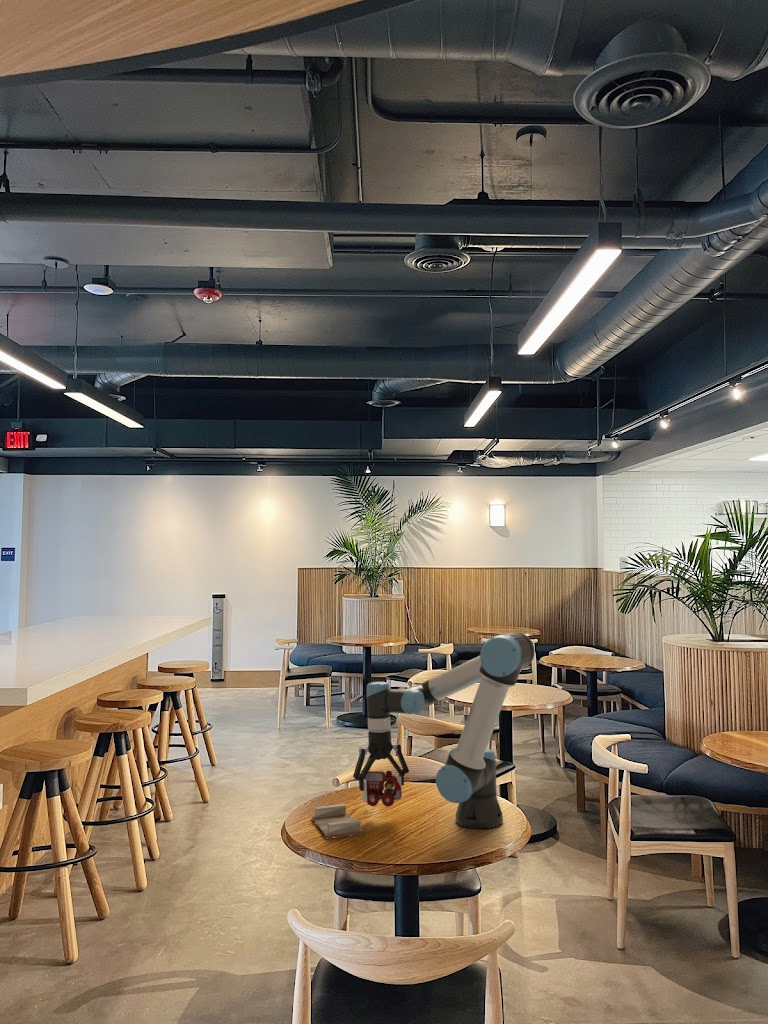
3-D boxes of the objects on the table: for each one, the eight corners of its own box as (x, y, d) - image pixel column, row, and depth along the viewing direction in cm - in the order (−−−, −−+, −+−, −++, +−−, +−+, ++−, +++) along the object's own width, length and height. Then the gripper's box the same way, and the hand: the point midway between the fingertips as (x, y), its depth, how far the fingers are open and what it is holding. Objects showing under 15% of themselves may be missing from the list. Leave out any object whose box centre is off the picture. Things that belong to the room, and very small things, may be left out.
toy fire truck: (399, 806, 246) (398, 773, 246) (361, 806, 248) (360, 773, 249) (402, 800, 252) (401, 768, 253) (366, 800, 255) (364, 768, 255)
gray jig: (364, 834, 238) (363, 821, 238) (326, 839, 234) (326, 826, 234) (346, 815, 256) (346, 802, 257) (311, 819, 253) (311, 807, 253)
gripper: (409, 724, 259) (412, 790, 258) (341, 731, 252) (344, 800, 250) (417, 728, 252) (420, 796, 250) (348, 735, 245) (350, 806, 243)
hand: (382, 798), depth 250 cm, fingers closed on toy fire truck, 11 cm apart
